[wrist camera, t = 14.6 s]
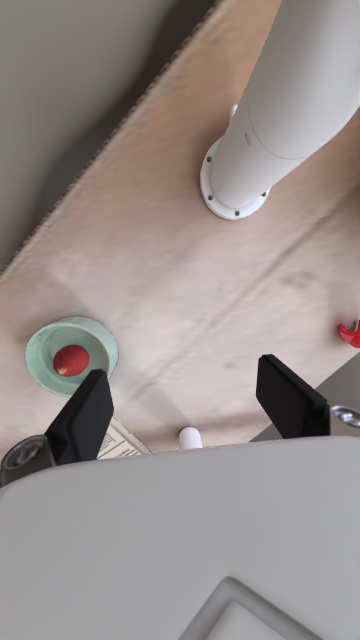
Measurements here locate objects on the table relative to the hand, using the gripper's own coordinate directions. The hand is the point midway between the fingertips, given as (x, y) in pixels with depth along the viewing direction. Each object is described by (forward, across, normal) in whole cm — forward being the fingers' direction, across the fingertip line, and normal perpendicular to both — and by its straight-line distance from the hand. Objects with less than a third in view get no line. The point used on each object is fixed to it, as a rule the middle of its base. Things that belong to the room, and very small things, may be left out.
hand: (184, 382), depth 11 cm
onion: (+26, +20, +9) cm, 34 cm away
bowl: (+26, +20, +9) cm, 34 cm away
